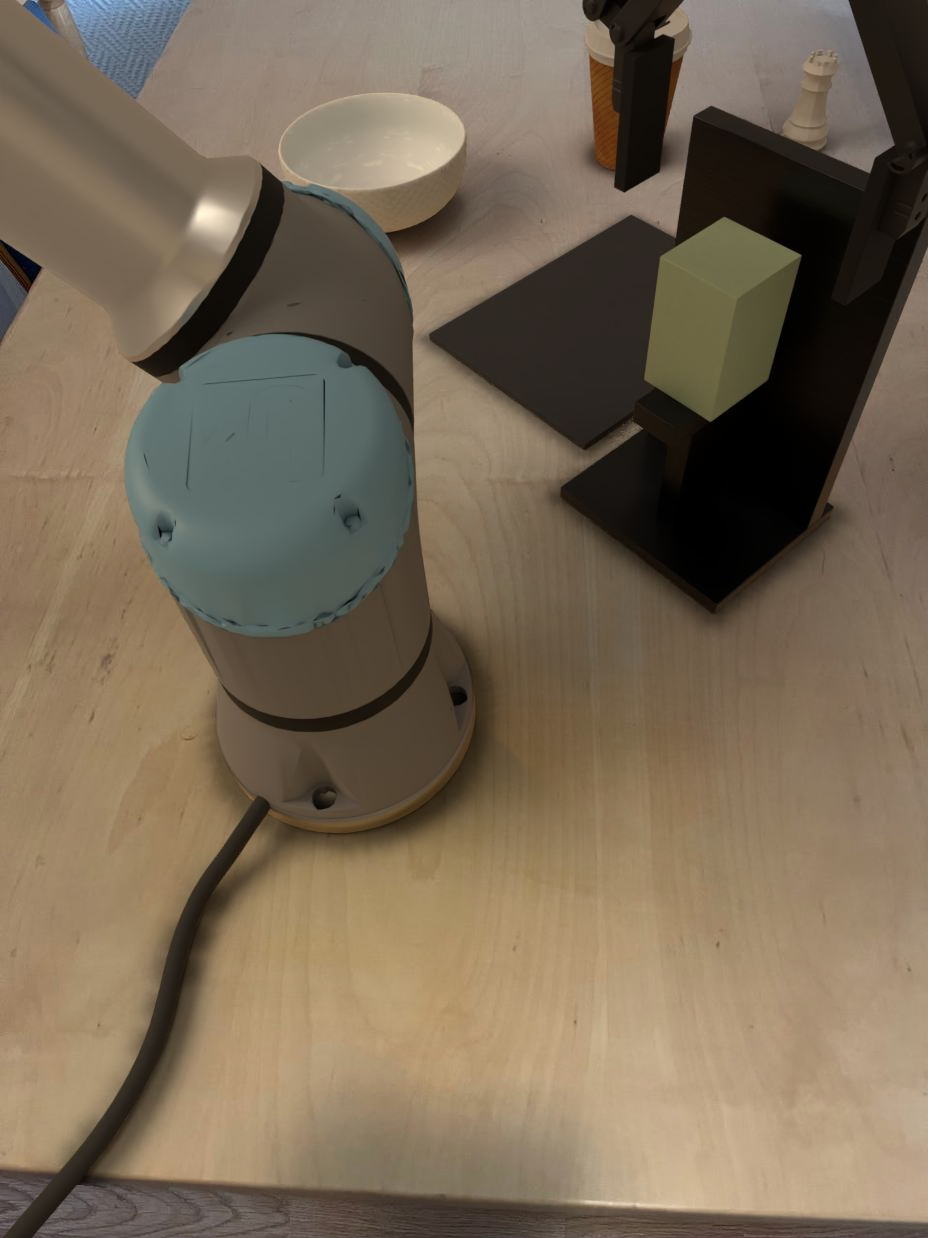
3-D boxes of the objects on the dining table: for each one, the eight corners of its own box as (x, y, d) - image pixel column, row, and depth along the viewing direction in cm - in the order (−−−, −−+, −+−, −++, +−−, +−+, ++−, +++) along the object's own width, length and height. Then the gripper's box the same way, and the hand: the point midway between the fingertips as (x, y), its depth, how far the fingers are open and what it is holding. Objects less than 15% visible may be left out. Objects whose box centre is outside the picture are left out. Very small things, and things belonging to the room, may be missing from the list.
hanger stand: (713, 614, 57) (803, 304, 39) (559, 496, 64) (571, 182, 45) (830, 516, 61) (963, 191, 43) (674, 414, 68) (729, 94, 49)
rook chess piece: (827, 156, 87) (851, 67, 80) (779, 155, 88) (799, 66, 81) (824, 132, 90) (847, 44, 83) (777, 131, 90) (796, 43, 84)
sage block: (710, 422, 50) (737, 298, 44) (643, 379, 53) (659, 256, 46) (768, 380, 52) (802, 254, 46) (700, 340, 54) (724, 215, 48)
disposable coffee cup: (672, 183, 86) (691, 45, 76) (572, 178, 87) (578, 42, 78) (679, 132, 91) (697, -3, 81) (585, 128, 93) (591, -5, 83)
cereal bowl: (353, 286, 80) (339, 210, 74) (262, 207, 88) (244, 134, 82) (506, 213, 85) (504, 137, 79) (407, 145, 93) (398, 72, 87)
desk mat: (584, 450, 66) (584, 444, 66) (429, 339, 75) (428, 333, 74) (791, 305, 74) (793, 299, 74) (630, 220, 83) (631, 213, 82)
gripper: (1384, -415, 23) (1016, 306, 40) (646, -455, 34) (608, 116, 52) (1245, -355, 20) (917, 386, 38) (500, -420, 32) (512, 168, 49)
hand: (738, 231), depth 45 cm, fingers open, 13 cm apart
